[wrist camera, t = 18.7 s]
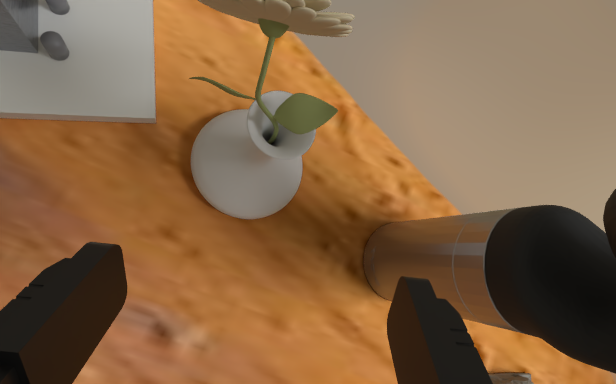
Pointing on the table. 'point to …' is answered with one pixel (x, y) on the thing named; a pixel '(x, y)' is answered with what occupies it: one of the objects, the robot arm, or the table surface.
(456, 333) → the robot arm
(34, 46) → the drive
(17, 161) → the table surface
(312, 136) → the flower in vase
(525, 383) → the packaged product
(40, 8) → the tray
